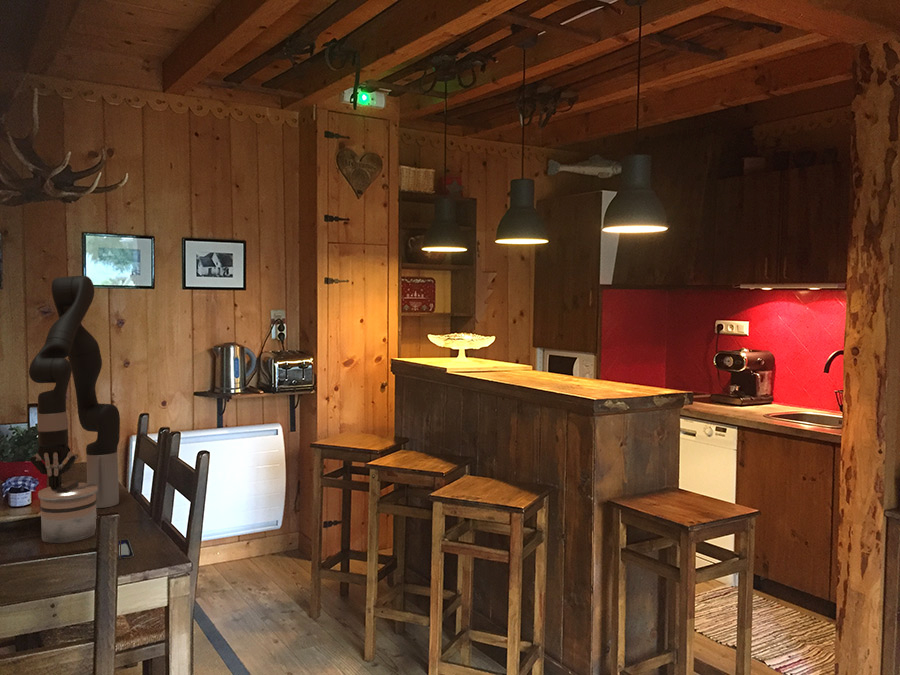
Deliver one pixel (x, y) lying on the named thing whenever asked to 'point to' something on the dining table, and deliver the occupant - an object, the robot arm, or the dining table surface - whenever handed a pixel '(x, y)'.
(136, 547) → the dining table surface
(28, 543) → the dining table surface
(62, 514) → the pot
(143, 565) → the dining table surface
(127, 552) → the smartphone
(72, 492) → the lid
